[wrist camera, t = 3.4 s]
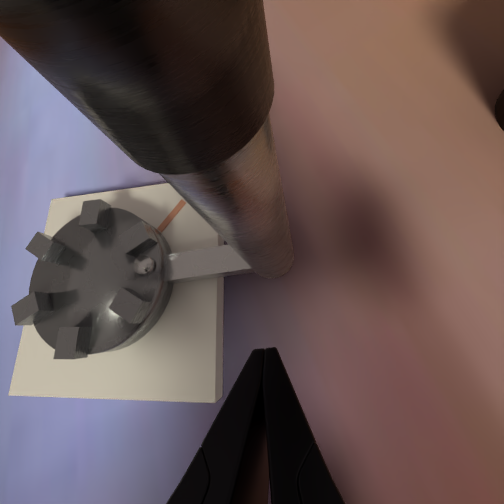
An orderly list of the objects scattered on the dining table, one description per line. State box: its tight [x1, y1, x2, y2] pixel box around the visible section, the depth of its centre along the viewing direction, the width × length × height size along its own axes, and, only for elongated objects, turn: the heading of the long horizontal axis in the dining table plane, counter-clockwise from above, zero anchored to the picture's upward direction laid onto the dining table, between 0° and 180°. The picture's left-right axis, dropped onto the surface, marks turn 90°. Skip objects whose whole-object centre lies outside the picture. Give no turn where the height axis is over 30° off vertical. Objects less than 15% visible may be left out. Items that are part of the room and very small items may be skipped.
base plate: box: [9, 183, 224, 403], centre depth 20 cm, size 16×16×2 cm
